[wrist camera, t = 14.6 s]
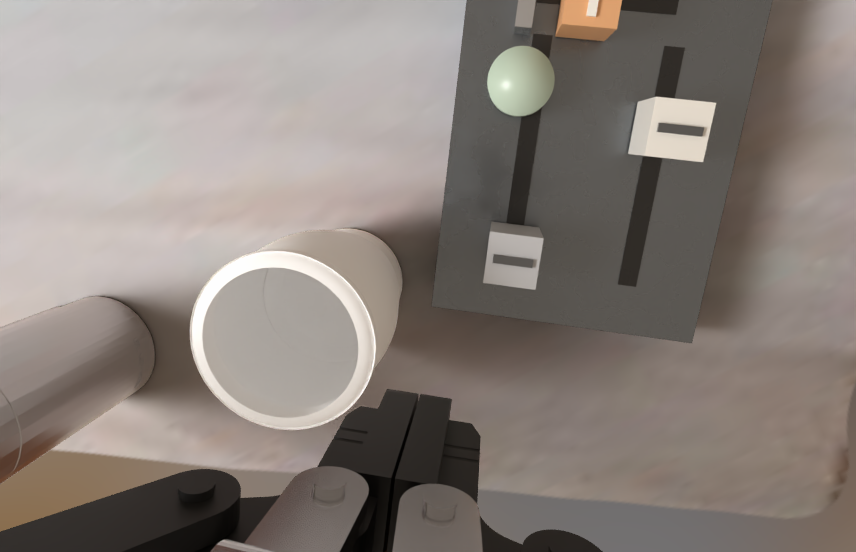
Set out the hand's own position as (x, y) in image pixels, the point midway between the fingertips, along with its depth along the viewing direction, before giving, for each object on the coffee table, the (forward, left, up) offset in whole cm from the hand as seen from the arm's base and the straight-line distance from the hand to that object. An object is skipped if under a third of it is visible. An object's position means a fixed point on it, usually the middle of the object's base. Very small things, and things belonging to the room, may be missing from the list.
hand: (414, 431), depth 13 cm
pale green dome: (+2, +10, -27) cm, 29 cm away
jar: (-9, -5, -31) cm, 33 cm away
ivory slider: (+11, +8, -27) cm, 30 cm away
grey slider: (+3, 0, -27) cm, 27 cm away
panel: (+7, +8, -31) cm, 33 cm away
